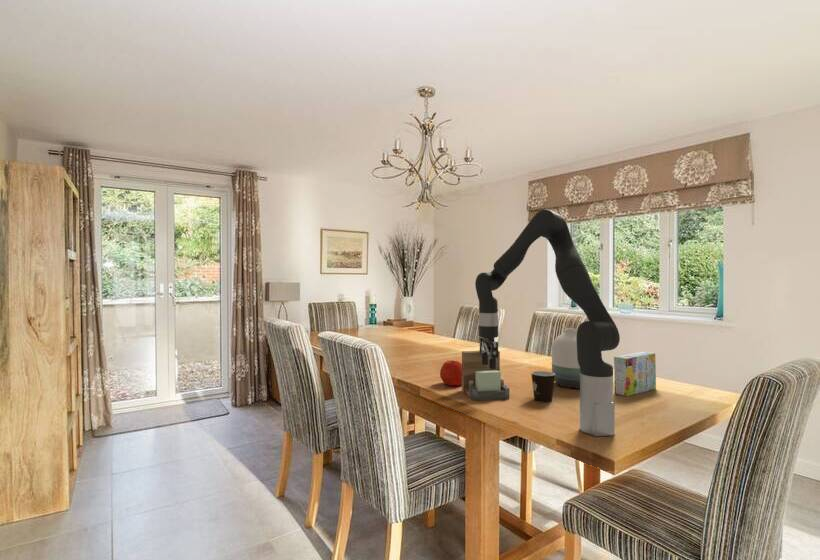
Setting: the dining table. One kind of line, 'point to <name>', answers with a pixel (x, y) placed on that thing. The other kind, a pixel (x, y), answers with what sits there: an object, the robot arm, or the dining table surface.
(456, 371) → the apple
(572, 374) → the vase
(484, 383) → the pale green flat block
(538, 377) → the coffee mug
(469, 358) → the desk organizer
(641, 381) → the snack box
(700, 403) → the dining table surface
